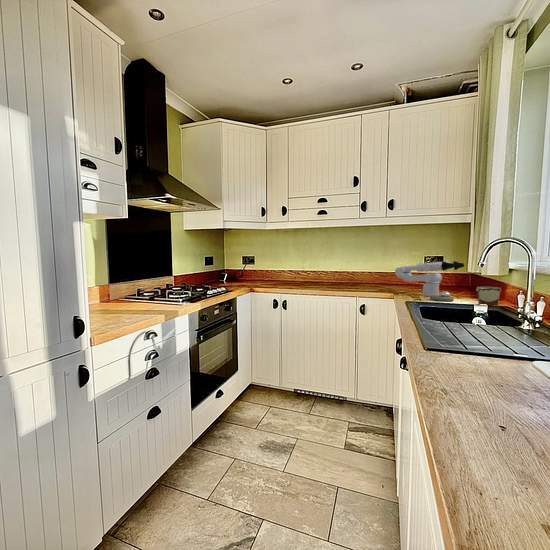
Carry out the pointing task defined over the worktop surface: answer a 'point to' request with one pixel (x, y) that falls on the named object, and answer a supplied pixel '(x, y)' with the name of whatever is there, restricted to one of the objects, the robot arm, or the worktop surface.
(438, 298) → the turntable
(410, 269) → the robot arm
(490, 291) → the food container
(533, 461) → the worktop surface
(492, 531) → the worktop surface
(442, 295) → the cover
